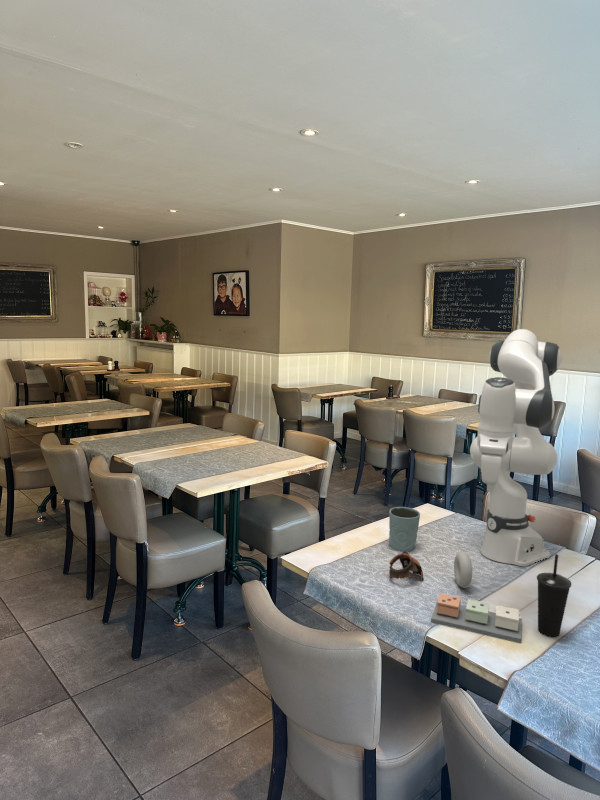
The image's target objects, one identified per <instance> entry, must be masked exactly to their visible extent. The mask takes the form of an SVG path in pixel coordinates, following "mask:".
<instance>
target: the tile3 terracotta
mask: <svg viewBox="0 0 600 800" xmlns="http://www.w3.org/2000/svg"><path fill="white" fill-rule="evenodd" d="M437 600H438V602H437V601H436V603H437V613H440V614H445V615H449V616H453V617H458V614H459V610H460V605H461V600H462V597H461V596H455V595H450V594H447V593H442V592H441V593H439V596H438V599H437Z"/></svg>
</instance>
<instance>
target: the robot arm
mask: <svg viewBox="0 0 600 800" xmlns="http://www.w3.org/2000/svg"><path fill="white" fill-rule="evenodd" d="M488 361H489V365H490V368H491V369H492V370H493V371H494V372H497V373H501V374H502V375H503V376H504V377H501V376H500V377H499V376H498V377H490V378H488V379H485V380H484V383H483V387H482V391H481V394H480V395H479V398H478V406H477V407H478V408H477V409H478V410H477V412H478V414H479V417H480V419H479V423H478V425H477V436H476V437H475V438H474V439H473V441H472V442H471V444H470V447H469V455H470V458H471V460H472V462H473V463H474V464H475V465H476V466H477V467H478V468H479V469H480V470H481V481H482V483H483V484H486V492H487V493H489V504H488V509H487V512H486V527H485V530H484V535H483V540H481V541H482V542H481V546H480V549H479V552H480V554H481V555H483V556H484V557H485V558H487V559H489V560H491V561H495V562H499V563H503V564H508V565H509V564H511V565H515V566H518V567H528V566H530V565H533V564H535V562H536V563H539V562H541V561H543V559H544V560H546V559H545V558H547V559H549V558H548V557H550V556H552V555H551V552H550V551H548V549H545V548H544V540H543V537H542V535H540V534H539V533H538V532H537V531H536V530H535V529H534V528H533V527H532V526H531V525H530V524H529V522H530V523H532V524H533V523H535V522H536V516H534V515H532V514H527V513H526V511H527V503H528V502H527V501H528V493H527V490H526V489H525V488H524V486H522V485H521V484H520V483H518V482H517V481H515V480H514V479H513V478H512V477H511V476H510V474H509V473H510V472H512V473H518V474H525V475H531V476H533V475H535V476H536V475H549V474H550V473H551V472H552V471H553V470H554V469H555V467H556V466H557V463H558V454H557V450H556V448H555V447H554V446H553V444H551V442H549V441H547V440H546V439H545V437H544V436H543V435H542V433H541V432H540V429H541V428H543V427H546V426H547V425H549V424H550V423H552V420H553V419H554V416H555V410H556V409H555V401H554V398H553V393H552V389H551V382H550V381H551V379H550V377H551V376H553V375H554V374H555V373H556V372H557V371H558V368H559V367H560V365H561V362H562V351H561V350H560V346H559V345H558V344H557V343H555V342H551V341H550V342H549V341H546V342H545V341H544V342H543V341H538V338H537V336H536V335H535V333H534V332H532V331H531V330H529V329H526V328H519V329H515V330H514V331H512V332H511V333H510V334H508V335H507V337H506V338H505V339H504V340H502V341H498V342H495V343H494V344H493V345H492V346H491V349H490V351H489V355H488ZM514 435H515V436H514ZM550 558H551V557H550ZM540 560H541V561H540ZM538 561H539V562H538Z"/></svg>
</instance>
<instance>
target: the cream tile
mask: <svg viewBox="0 0 600 800" xmlns="http://www.w3.org/2000/svg"><path fill="white" fill-rule="evenodd" d="M495 613H496V619H495V626H498V627H502V628H507V629H511V630H515V631H518V623H519V618H520V609H517V608H512V607H508V606H504V605H503V606H502V605H498V604H497V605H496V611H495Z"/></svg>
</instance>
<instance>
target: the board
mask: <svg viewBox="0 0 600 800" xmlns="http://www.w3.org/2000/svg"><path fill="white" fill-rule="evenodd" d="M437 602H438V599H437V601H436V603H435V606H434V609H433V612H432V615H431V618H430V623H433V624H437V625H442V626H446V627H450V628H455V629H457V630H463V631H468V632H472V633H476V634H481V635H485V636H489V637H493V638H498V639H502V640H504V641H505V640H506V641H511V642H515V643H519V644H522V633H523V632H522V630H523V628H522V627H523V625H522V624H523V618H520V617H519V623H518V631H515V630H511V629H507V628H502V627H498V626H495V619H496V612H494V611H490V610H489V615H488V621H487V624H485V623H480V622H476V621H471V620H467V619H465V615H466V606H467V605H466V606H465V605H462V604H460V610H459V614H458V617H453V616H449V615H445V614H440V613H437Z"/></svg>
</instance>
